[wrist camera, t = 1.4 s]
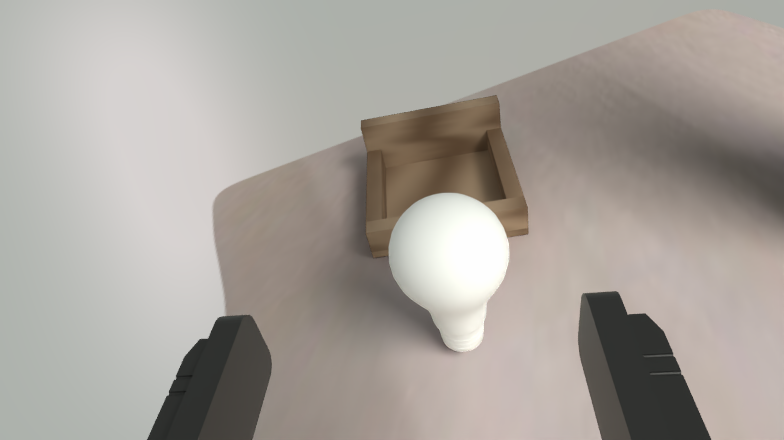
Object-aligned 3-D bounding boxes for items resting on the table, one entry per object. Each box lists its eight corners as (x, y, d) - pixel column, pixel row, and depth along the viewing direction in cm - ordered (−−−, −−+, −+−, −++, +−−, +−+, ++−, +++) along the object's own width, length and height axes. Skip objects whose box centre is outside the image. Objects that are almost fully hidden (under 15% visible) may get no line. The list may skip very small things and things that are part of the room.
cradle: (499, 145, 46) (496, 95, 42) (528, 233, 37) (526, 179, 34) (373, 167, 47) (361, 120, 44) (373, 257, 39) (357, 208, 35)
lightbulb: (407, 314, 34) (370, 184, 27) (498, 292, 34) (486, 156, 27) (424, 398, 29) (385, 269, 22) (529, 373, 29) (524, 235, 22)
